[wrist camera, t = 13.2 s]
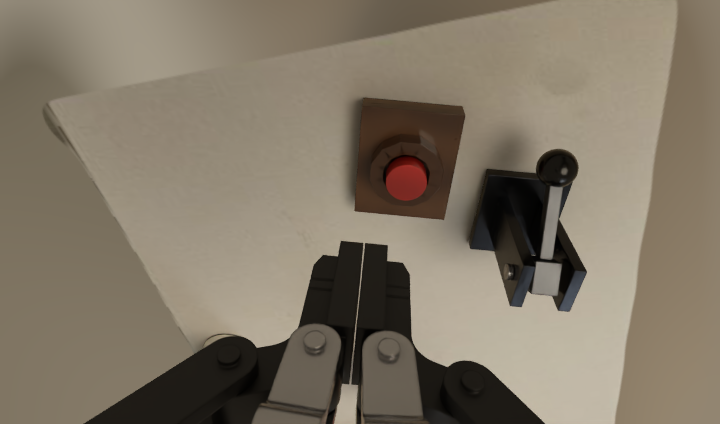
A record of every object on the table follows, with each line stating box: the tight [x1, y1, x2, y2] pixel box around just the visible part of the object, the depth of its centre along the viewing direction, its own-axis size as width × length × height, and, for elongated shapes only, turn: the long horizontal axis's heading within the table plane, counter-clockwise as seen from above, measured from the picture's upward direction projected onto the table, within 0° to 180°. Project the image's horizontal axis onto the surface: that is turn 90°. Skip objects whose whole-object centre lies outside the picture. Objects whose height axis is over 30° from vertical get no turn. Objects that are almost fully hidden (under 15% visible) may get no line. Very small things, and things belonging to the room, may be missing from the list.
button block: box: [355, 98, 465, 220], centre depth 43 cm, size 11×9×4 cm
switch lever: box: [528, 149, 579, 296], centre depth 38 cm, size 12×3×3 cm, turn 176°
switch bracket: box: [469, 169, 587, 312], centre depth 42 cm, size 9×8×12 cm
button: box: [386, 156, 427, 201], centre depth 41 cm, size 4×4×2 cm
